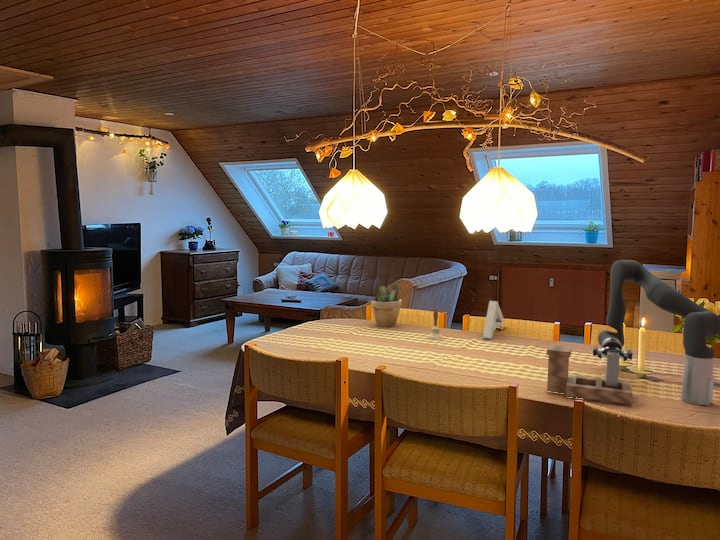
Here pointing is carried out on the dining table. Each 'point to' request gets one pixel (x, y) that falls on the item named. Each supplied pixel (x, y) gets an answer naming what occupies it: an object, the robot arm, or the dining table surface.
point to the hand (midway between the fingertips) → (612, 357)
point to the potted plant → (386, 306)
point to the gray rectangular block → (612, 370)
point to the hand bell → (435, 328)
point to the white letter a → (492, 320)
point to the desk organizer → (582, 381)
